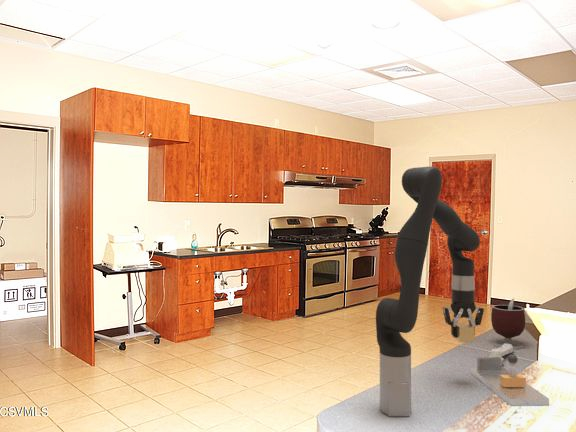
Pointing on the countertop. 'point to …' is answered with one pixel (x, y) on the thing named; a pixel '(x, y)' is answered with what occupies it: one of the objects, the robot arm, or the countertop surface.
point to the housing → (465, 332)
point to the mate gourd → (508, 323)
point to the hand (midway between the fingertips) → (463, 336)
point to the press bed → (490, 376)
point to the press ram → (512, 375)
